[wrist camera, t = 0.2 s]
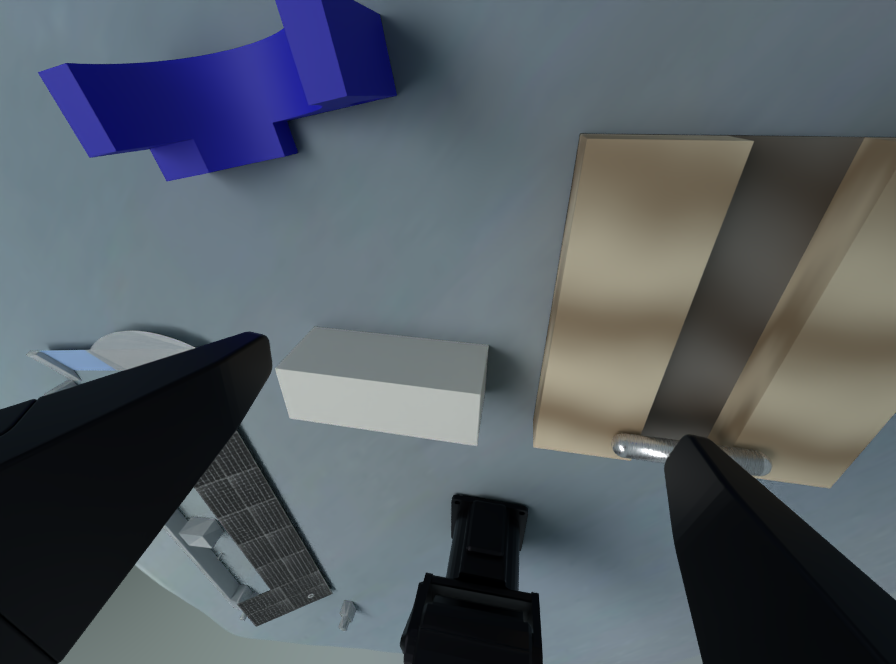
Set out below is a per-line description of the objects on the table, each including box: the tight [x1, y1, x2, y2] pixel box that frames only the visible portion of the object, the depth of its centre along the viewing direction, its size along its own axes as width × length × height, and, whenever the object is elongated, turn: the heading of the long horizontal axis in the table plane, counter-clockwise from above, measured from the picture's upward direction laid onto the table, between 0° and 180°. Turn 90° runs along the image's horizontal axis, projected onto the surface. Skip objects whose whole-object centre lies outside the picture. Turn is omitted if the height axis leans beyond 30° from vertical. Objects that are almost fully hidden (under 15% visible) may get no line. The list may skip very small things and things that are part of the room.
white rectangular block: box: [275, 327, 489, 446], centre depth 24 cm, size 4×12×5 cm, turn 90°
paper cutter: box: [26, 331, 356, 631], centre depth 39 cm, size 18×45×6 cm, turn 8°
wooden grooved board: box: [533, 133, 896, 488], centre depth 19 cm, size 18×17×4 cm
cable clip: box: [38, 0, 397, 181], centre depth 16 cm, size 12×4×6 cm, turn 101°
